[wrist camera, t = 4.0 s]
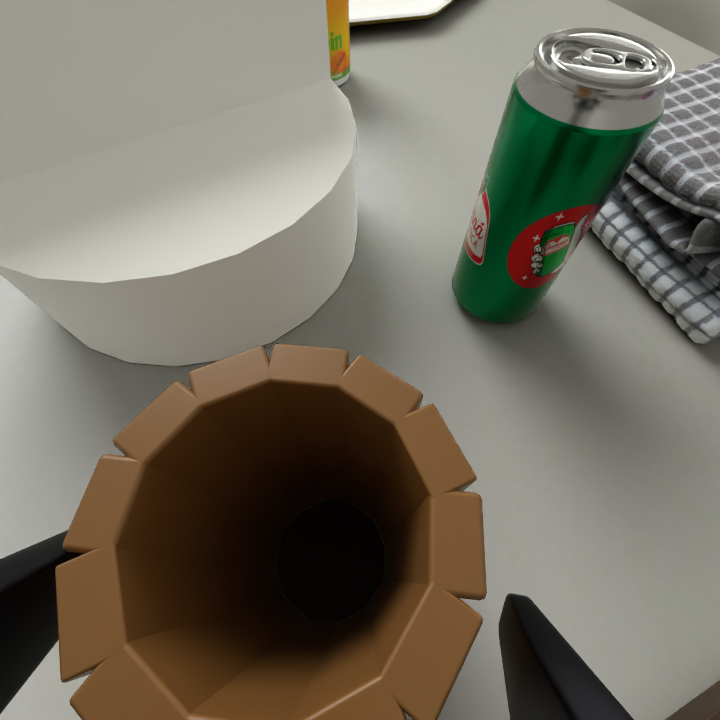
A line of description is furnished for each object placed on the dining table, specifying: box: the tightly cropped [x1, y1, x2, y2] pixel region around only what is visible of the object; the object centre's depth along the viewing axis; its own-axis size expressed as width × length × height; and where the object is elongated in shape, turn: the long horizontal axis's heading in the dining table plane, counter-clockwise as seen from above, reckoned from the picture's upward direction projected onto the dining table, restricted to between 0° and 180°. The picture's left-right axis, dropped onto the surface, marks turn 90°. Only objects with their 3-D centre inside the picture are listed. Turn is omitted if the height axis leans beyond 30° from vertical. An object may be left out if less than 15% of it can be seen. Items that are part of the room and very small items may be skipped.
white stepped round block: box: [0, 0, 358, 366], centre depth 20 cm, size 20×20×13 cm
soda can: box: [452, 28, 675, 323], centre depth 18 cm, size 5×5×12 cm
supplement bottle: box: [326, 0, 350, 87], centre depth 31 cm, size 5×5×10 cm
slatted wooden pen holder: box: [55, 344, 487, 720], centre depth 11 cm, size 6×6×12 cm
